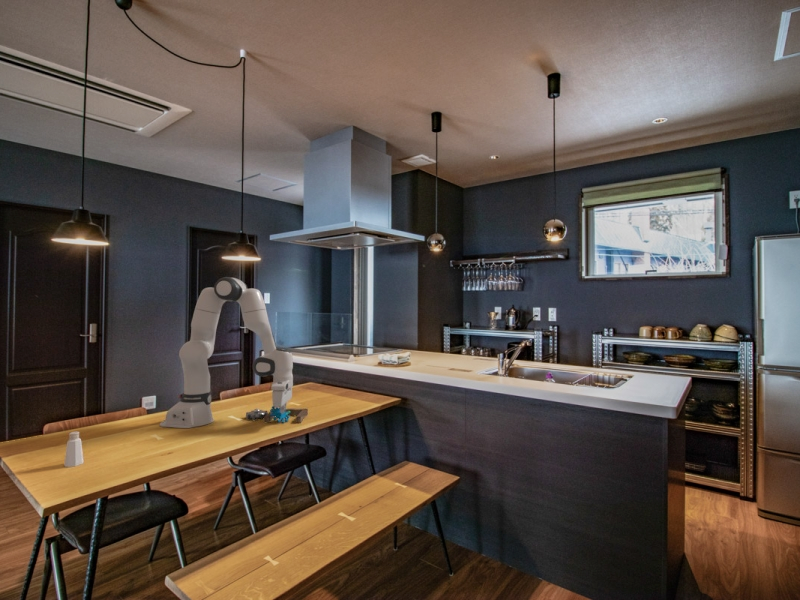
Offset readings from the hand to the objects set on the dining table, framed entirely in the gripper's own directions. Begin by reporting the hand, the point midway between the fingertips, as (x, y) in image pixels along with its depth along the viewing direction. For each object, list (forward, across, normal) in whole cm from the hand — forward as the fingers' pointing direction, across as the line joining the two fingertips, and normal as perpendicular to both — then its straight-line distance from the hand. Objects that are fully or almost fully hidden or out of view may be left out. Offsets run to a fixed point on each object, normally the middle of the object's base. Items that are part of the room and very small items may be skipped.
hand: (283, 412), depth 198 cm
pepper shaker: (+5, +51, -58) cm, 78 cm away
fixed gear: (+5, -8, -15) cm, 18 cm away
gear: (+5, -2, -2) cm, 6 cm away
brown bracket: (+5, -6, 0) cm, 8 cm away
